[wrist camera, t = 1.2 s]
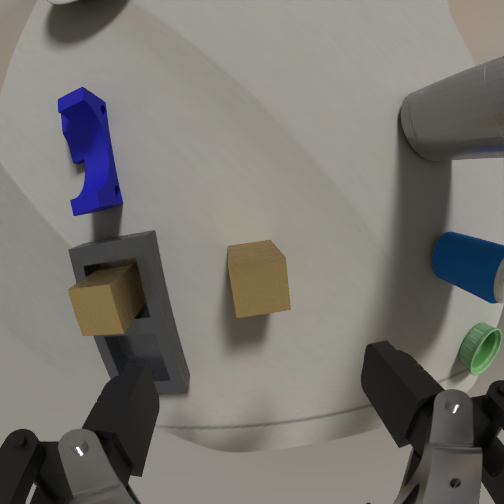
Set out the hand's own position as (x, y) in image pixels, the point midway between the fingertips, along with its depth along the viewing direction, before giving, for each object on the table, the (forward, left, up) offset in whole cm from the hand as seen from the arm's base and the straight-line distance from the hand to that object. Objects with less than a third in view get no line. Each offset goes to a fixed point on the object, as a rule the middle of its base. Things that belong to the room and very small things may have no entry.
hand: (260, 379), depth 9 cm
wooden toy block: (-1, +1, -21) cm, 21 cm away
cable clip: (+14, -13, -21) cm, 28 cm away
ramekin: (-38, +22, -21) cm, 49 cm away
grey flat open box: (+13, +5, -21) cm, 25 cm away
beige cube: (+13, +1, -20) cm, 24 cm away
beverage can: (-27, +4, -21) cm, 34 cm away
